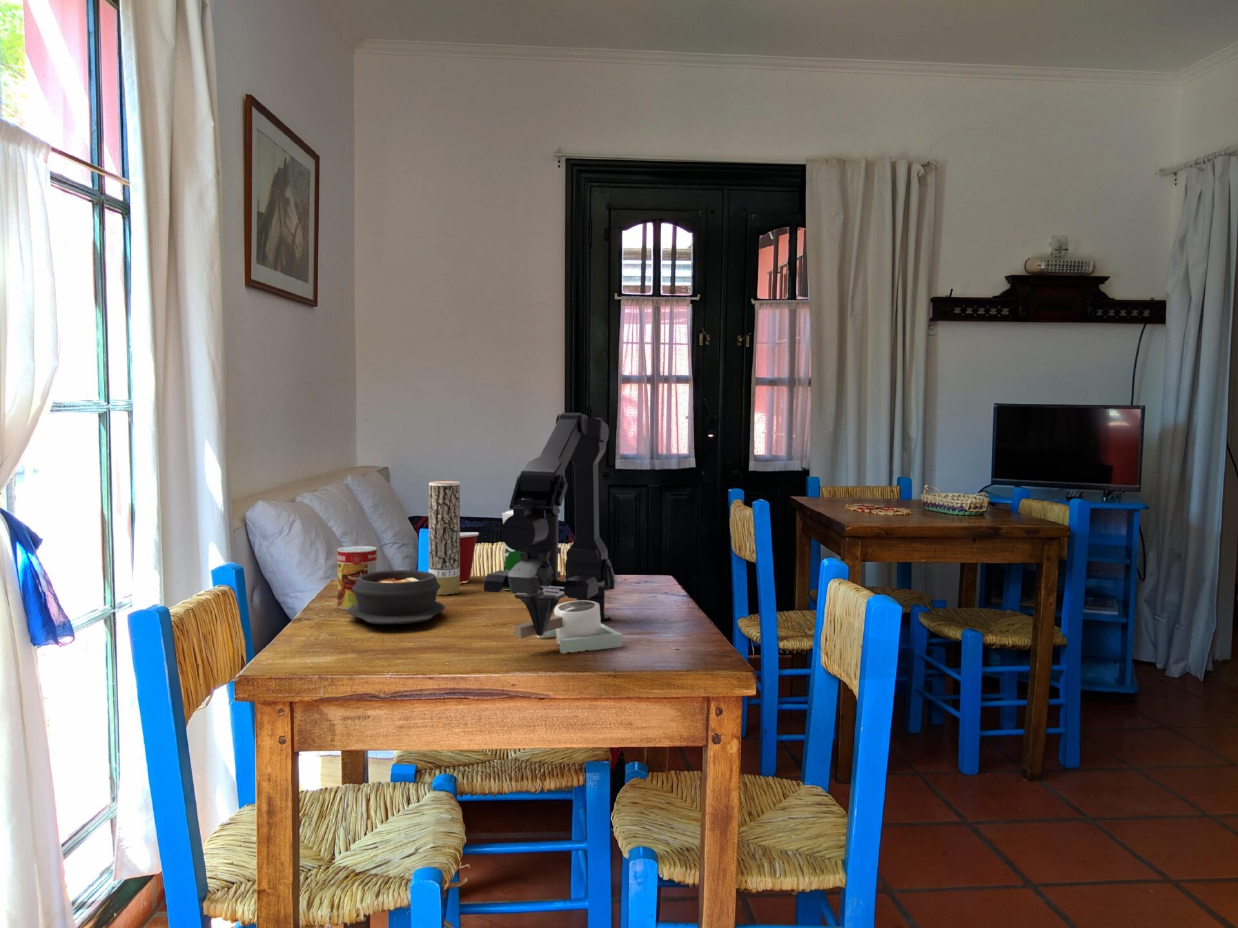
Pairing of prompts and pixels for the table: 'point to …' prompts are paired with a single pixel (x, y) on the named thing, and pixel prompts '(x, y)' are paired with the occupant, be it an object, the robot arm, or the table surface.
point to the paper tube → (445, 535)
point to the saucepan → (568, 621)
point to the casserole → (396, 597)
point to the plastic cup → (467, 553)
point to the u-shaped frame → (588, 640)
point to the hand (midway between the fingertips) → (540, 635)
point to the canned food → (353, 571)
